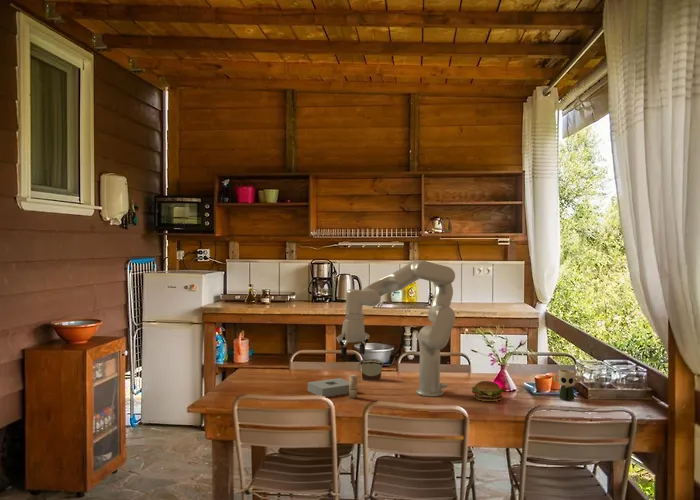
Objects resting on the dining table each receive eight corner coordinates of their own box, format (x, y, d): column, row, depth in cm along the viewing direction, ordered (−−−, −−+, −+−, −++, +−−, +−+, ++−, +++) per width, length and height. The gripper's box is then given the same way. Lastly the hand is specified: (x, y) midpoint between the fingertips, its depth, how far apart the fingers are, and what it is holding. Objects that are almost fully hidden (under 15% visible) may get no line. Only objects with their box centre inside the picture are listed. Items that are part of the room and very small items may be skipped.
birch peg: (354, 396, 251) (354, 374, 251) (358, 398, 248) (359, 376, 248) (347, 397, 249) (347, 375, 249) (351, 399, 246) (352, 376, 246)
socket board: (339, 386, 269) (339, 377, 269) (355, 392, 257) (355, 383, 257) (307, 390, 259) (307, 382, 259) (322, 397, 248) (322, 388, 248)
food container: (383, 378, 287) (384, 359, 287) (383, 380, 281) (383, 361, 281) (360, 377, 288) (360, 358, 288) (359, 380, 282) (359, 360, 282)
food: (465, 399, 248) (465, 381, 248) (481, 393, 258) (481, 376, 258) (493, 405, 238) (493, 387, 238) (508, 399, 249) (508, 381, 249)
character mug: (554, 400, 248) (554, 371, 248) (553, 396, 254) (553, 368, 254) (580, 402, 244) (580, 373, 244) (578, 398, 251) (579, 370, 251)
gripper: (364, 315, 256) (364, 351, 256) (333, 316, 247) (332, 354, 247) (374, 316, 250) (373, 354, 250) (342, 318, 240) (341, 357, 240)
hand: (353, 354), depth 248 cm, fingers open, 9 cm apart
